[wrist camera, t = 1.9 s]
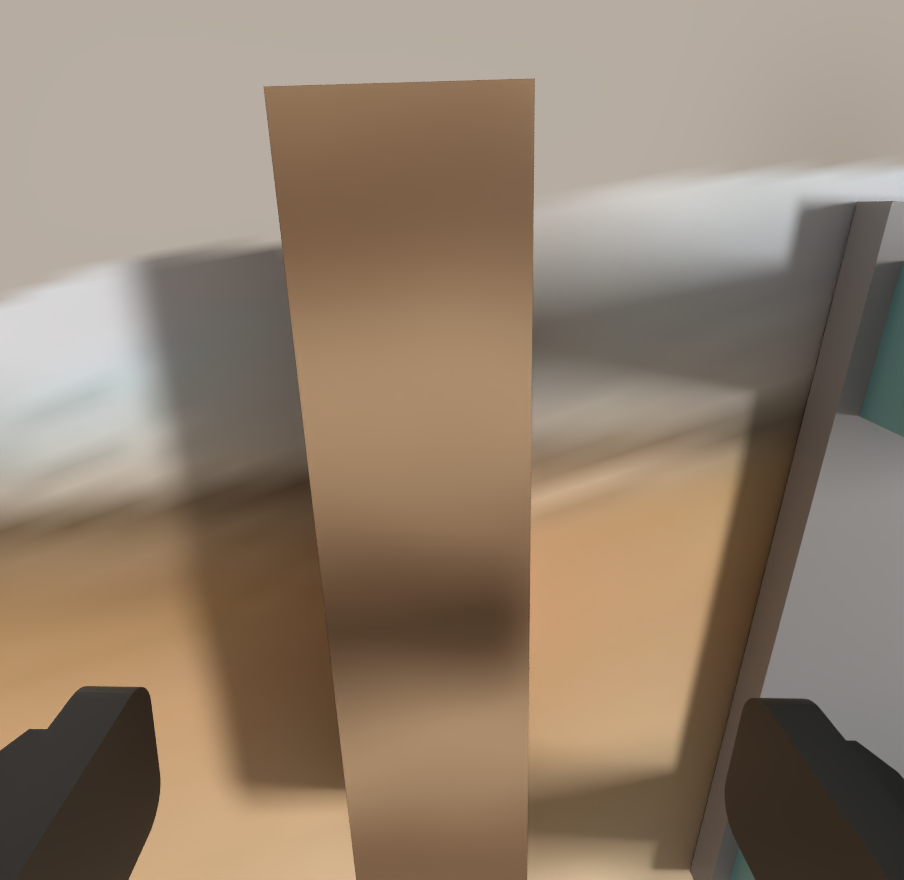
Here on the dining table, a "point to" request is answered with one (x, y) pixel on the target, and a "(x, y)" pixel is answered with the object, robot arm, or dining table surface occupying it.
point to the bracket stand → (836, 534)
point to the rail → (418, 451)
